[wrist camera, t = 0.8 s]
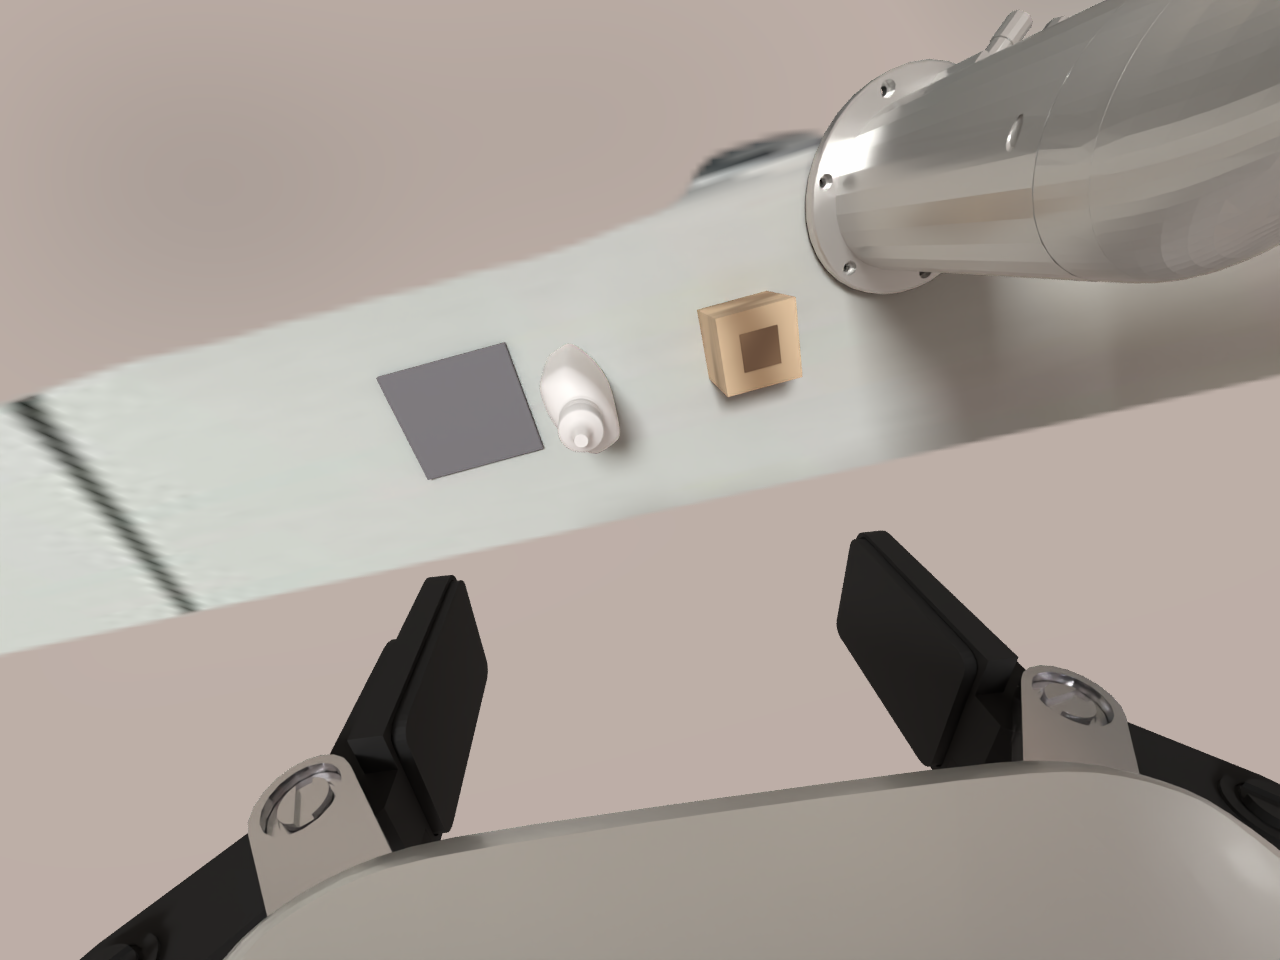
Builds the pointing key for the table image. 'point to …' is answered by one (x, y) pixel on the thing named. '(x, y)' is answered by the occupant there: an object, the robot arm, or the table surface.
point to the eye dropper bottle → (579, 400)
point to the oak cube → (751, 342)
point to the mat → (462, 411)
